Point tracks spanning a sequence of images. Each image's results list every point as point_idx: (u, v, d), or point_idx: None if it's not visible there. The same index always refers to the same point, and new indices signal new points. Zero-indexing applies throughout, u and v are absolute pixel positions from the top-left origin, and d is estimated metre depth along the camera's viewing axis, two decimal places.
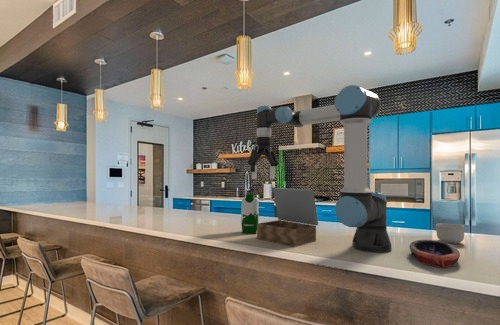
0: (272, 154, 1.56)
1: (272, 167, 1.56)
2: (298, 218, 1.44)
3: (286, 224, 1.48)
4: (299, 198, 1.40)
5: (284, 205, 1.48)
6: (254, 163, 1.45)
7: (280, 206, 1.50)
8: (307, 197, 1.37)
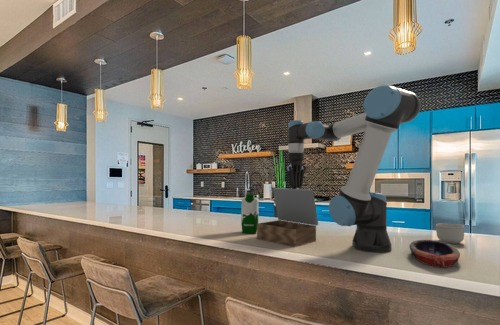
0: (301, 173, 1.48)
1: None
2: (298, 218, 1.44)
3: (286, 224, 1.48)
4: (299, 198, 1.40)
5: (284, 205, 1.48)
6: (295, 186, 1.43)
7: (280, 206, 1.50)
8: (307, 197, 1.37)
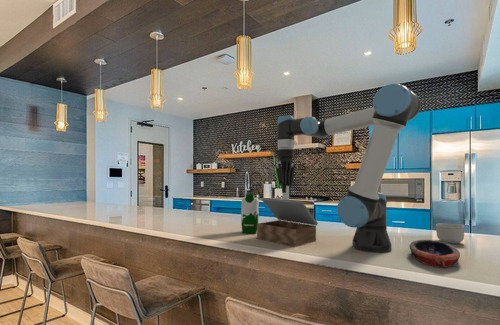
0: (291, 170, 1.42)
1: None
2: (296, 220, 1.43)
3: (286, 224, 1.48)
4: (291, 207, 1.35)
5: (279, 211, 1.45)
6: (285, 184, 1.37)
7: (275, 211, 1.47)
8: (298, 207, 1.32)
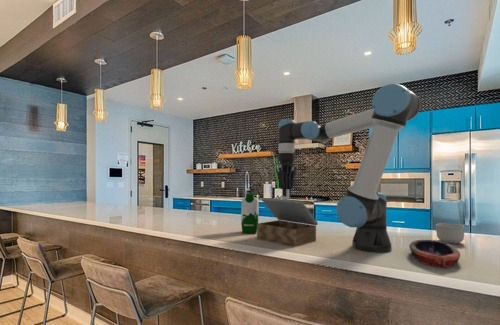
0: (291, 174, 1.43)
1: None
2: (296, 220, 1.43)
3: (286, 224, 1.48)
4: (291, 207, 1.35)
5: (279, 211, 1.45)
6: (286, 187, 1.38)
7: (275, 211, 1.47)
8: (298, 207, 1.32)
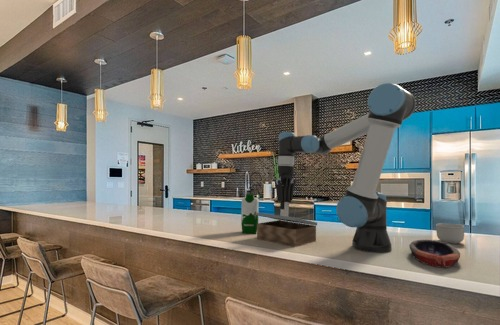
0: (291, 186, 1.42)
1: None
2: None
3: (286, 224, 1.48)
4: None
5: None
6: (284, 200, 1.37)
7: (273, 218, 1.46)
8: None
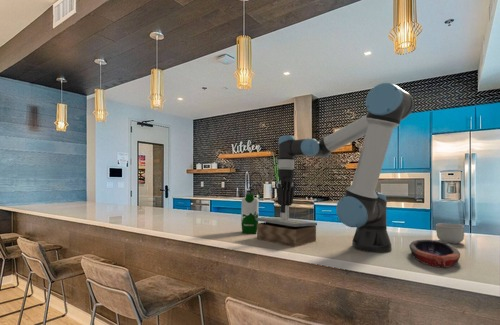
0: (291, 190, 1.42)
1: None
2: None
3: None
4: None
5: None
6: (284, 204, 1.37)
7: None
8: None
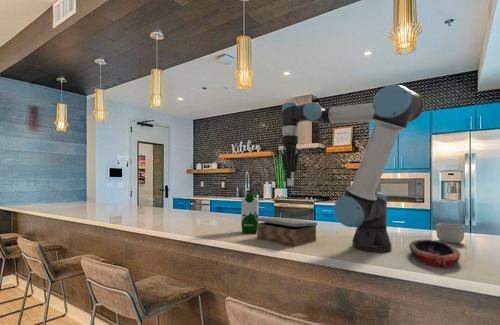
0: (295, 157, 1.44)
1: None
2: None
3: None
4: None
5: None
6: (290, 170, 1.39)
7: None
8: None
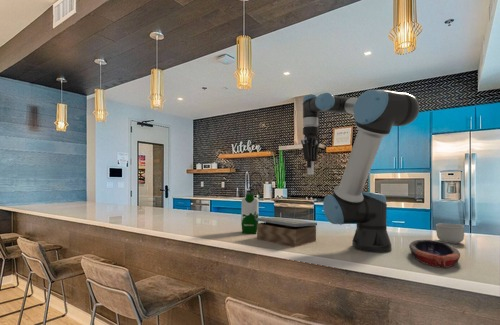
0: (315, 147, 1.50)
1: None
2: None
3: None
4: None
5: None
6: (310, 159, 1.45)
7: None
8: None
